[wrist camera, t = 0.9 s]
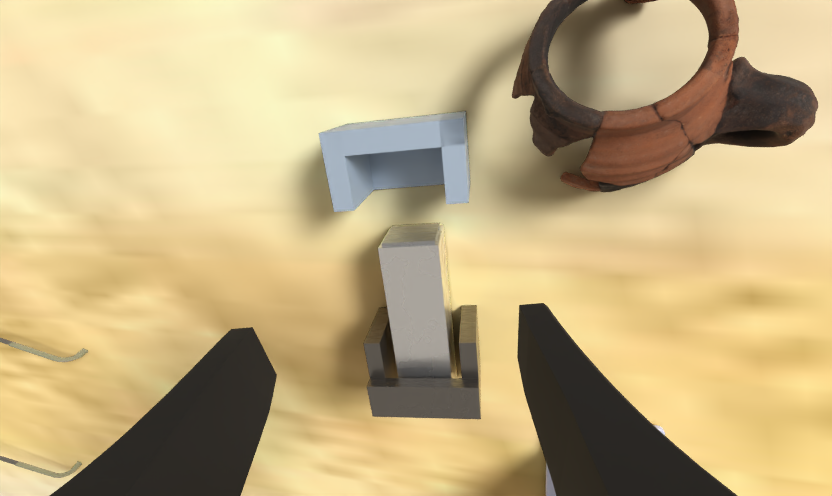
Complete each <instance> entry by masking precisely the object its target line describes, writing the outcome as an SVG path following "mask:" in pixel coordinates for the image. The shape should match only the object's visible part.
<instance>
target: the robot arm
mask: <svg viewBox="0 0 832 496" xmlns="http://www.w3.org/2000/svg"><path fill="white" fill-rule="evenodd" d="M518 362H519V368H520V373H521V378H522V383H523V387H524V392H525V396H526V399H527V403H528V406H529V409H530V412H531V416H532V419H533V422H534V425H535V428H536V431H537V435H538V438H539V441H540V444H541V447H542V450H543V454H544V457H545V460H546V496H737V495H736V494H735V493H733V492H732V491H731V490H730V489H728V488H727V487H726V486H724V485H723V484H722V483H721V482H719V481H718V480H717V479H716V478H714V477H713V476H712V475H711V474H709V473H708V472H707V471H706V470H704V469H703V468H702V467H700V466H699V465H698V464H697V463H696V462H695V461H693V460H692V459H691V458H690V457H689V456H688V455H686V454H685V453H684V452H683V451H682V450H681V449H679V448H678V447H677V446H676V445H675V444H674V443H672V442H671V441H670V440H669V439H668V438H667V437H666V436H665V432H664V430H663V428H662V427H660V426H657V425H653V424H651V423H650V422H649V421H648V420H647V419H646V418H645V417H644V416H643V415H642V414H641V413H640V412H639V411H638V410H637V409H636V408H635V407H634V406H633V405H632V404H631V403H630V402H629V401H628V400H627V399H626V398H625V397H624V396H623V395H622V394H621V393H620V392H619V391H618V390H617V389H616V388H615V387H614V386H613V385H612V384H611V383H610V382H609V381H608V379H607V378H606V377H605V376H604V375H603V374H602V373H601V372H600V371H599V370H598V368H597V367H596V366H595V365H594V364H593V363H592V362H591V361H590V359H589V358H588V357H587V356H586V355H585V354H584V353H583V351H582V350H581V349H580V348H579V347H578V345H577V344H576V343H575V342H574V341H573V339H572V338H571V337H570V336H569V334H568V333H567V332H566V331H565V329H564V328H563V327H562V326H561V324H560V323H559V322H558V320H557V319H556V318H555V316H554V315H553V314H552V312H551V311H550V309H549V308H548V307H547V306H546V305H545V304H544V303H539V304H527V305H519V330H518ZM276 376H277V375H276V373H275V371H274V369H273V367H272V365H271V363H270V361H269V359H268V357H267V355H266V353H265V351H264V349H263V347H262V345H261V343H260V341H259V339H258V337H257V335H256V333H255V331H254V329H253V327H251V328H239V329H231V330H230V331H229V332H228V333H227V334H226V335H225V336H224V337H223V338H222V339H221V340H220V341H219V342H218V343H217V344H216V345H215V346H214V347H213V348H212V349H211V350H210V351H209V352H208V353H207V354H206V355H205V356H204V357H203V358H202V359H201V360H200V361H199V362H198V363H197V364H196V365H195V366H194V367H193V368H192V369H191V370H190V371H189V372H188V373H187V374H186V375H185V376H184V377H183V378H182V379H181V380H180V381H179V382H178V384H177V385H176V386H175V387H174V388H173V389H172V390H171V391H170V392H169V393H168V394H167V395H166V396H165V397H164V398H163V399H161V400H160V401H159V402H158V403H157V404H156V405H155V406H154V407H153V408H152V409H151V410H150V411H149V412H148V413H147V414H146V415H144V416H143V417H142V418H141V419H140V420H139V421H138V422H137V423H136V424H135V425H134V426H133V427H132V428H131V429H130V430H129V431H128V432H126V433H125V434H124V435H123V436H122V437H121V438H120V439H119V440H118V441H116V442H115V443H114V444H113V445H112V446H111V447H109V448H108V449H107V450H106V451H105V452H104V453H103V454H101V455H100V456H99V457H98V458H97V459H95V460H94V461H93V462H92V463H91V464H89V465H88V466H87V467H86V468H85V469H83V470H82V471H81V472H80V473H78V474H77V475H76V476H75V477H73V478H72V479H71V480H70V481H68V482H67V483H66V484H65V485H63V486H62V487H61V488H59V489H58V490H57V491H55V492H54V493H53V494H51V495H50V496H240V495H241V493H242V490H243V487H244V484H245V481H246V478H247V475H248V472H249V469H250V467H251V464H252V461H253V458H254V455H255V452H256V449H257V446H258V444H259V441H260V438H261V435H262V432H263V429H264V426H265V423H266V420H267V417H268V414H269V410H270V406H271V401H272V397H273V392H274V387H275V381H276Z"/></svg>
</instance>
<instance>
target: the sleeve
mask: <svg viewBox="0 0 832 496" xmlns="http://www.w3.org/2000/svg"><path fill="white" fill-rule="evenodd" d="M364 349H365V354H366V359H367V364H368V369H369V375H370V379H369V382H368V385H367V390H368V395H369V400H370V405H371V410H372V415H373V416H374V417H413V418H453V419H481V390H480V353H479V337H478V321H477V306H476V305H471V306H462V308H461V321H460V335H459V350H460V361H461V373H462V378H399V377H398V371H397V365H396V359H395V352H394V346H393V340H392V334H391V327H390V321H389V315H388V309H387V308H379V309H378V311H377V314H376V316H375V318H374V321H373V323H372V325H371V328H370V330H369V332H368V334H367V337H366V339H365V341H364Z"/></svg>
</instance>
